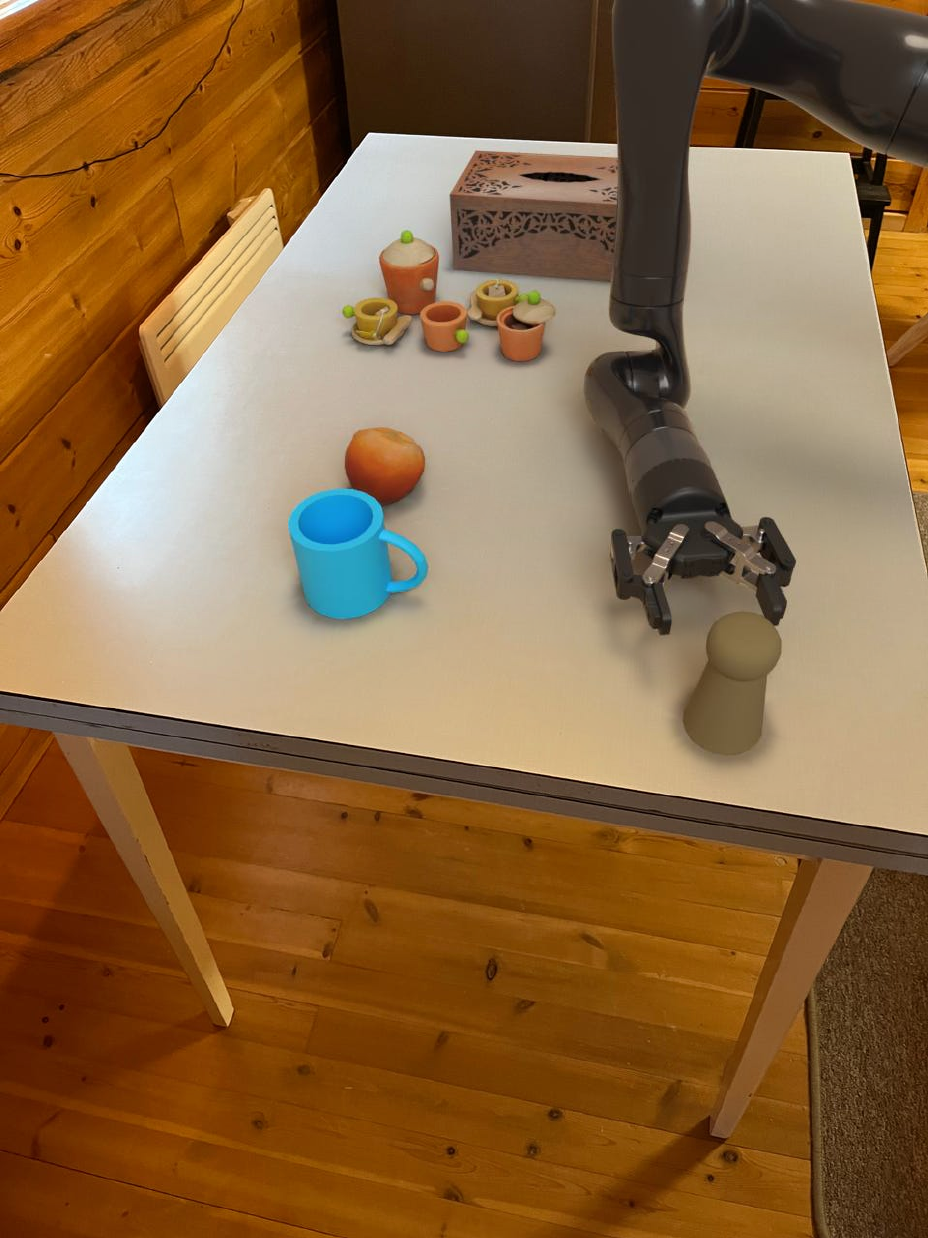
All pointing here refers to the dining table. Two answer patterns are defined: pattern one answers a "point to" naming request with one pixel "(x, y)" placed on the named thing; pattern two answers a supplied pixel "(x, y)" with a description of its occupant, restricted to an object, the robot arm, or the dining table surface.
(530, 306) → the toy tea set
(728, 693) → the cork
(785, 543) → the robot arm
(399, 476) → the fruit
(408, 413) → the dining table surface
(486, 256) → the tissue box cover
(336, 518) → the mug
